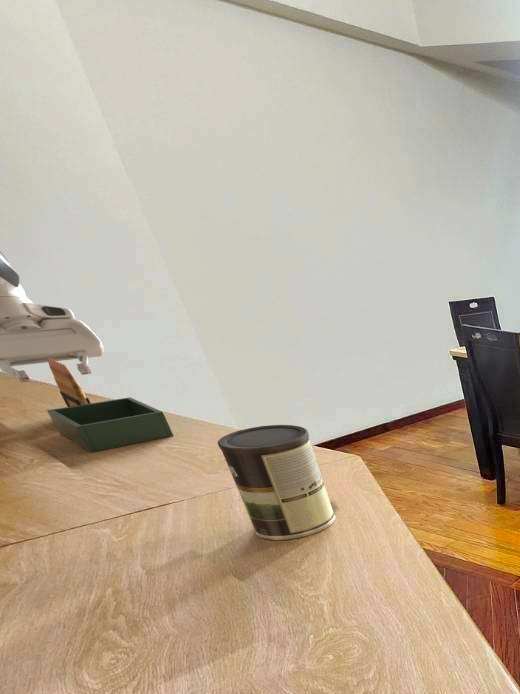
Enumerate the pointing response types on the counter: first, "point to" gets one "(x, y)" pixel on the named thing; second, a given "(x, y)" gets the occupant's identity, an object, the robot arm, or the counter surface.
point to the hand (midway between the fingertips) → (56, 376)
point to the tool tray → (110, 423)
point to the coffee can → (278, 481)
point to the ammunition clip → (67, 384)
